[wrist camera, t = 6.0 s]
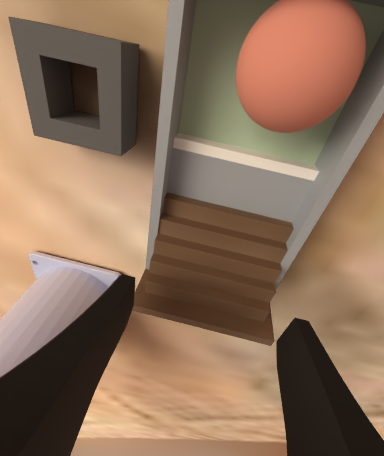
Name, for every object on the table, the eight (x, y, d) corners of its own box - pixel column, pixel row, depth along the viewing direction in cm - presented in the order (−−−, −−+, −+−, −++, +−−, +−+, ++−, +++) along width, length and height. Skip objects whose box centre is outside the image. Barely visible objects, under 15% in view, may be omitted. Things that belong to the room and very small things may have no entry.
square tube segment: (135, 144, 13) (120, 156, 11) (59, 125, 13) (34, 135, 12) (139, 44, 10) (120, 42, 9) (43, 22, 11) (8, 16, 9)
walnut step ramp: (263, 275, 17) (270, 345, 13) (156, 249, 17) (129, 309, 13) (296, 213, 14) (321, 279, 10) (164, 181, 14) (132, 233, 10)
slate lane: (265, 271, 17) (272, 329, 13) (156, 244, 17) (134, 293, 13) (417, -13, 8) (557, -70, 5) (192, -61, 8) (156, -151, 5)
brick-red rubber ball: (430, -34, 6) (369, 140, 7) (330, 28, 9) (304, 134, 11) (273, -61, 5) (244, 129, 7) (233, 14, 9) (219, 127, 11)
